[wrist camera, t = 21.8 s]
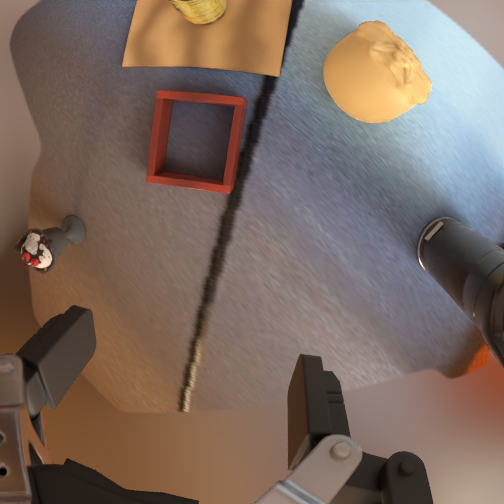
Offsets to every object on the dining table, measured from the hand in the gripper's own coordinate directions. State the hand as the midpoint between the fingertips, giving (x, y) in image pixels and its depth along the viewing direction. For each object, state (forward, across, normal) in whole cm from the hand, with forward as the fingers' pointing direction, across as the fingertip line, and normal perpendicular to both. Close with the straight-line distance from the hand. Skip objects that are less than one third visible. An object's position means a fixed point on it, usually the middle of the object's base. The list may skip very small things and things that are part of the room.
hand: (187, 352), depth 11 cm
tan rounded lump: (+33, -12, -18) cm, 40 cm away
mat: (+33, +10, -24) cm, 42 cm away
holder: (+33, +8, -6) cm, 35 cm away
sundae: (+33, +28, +10) cm, 45 cm away
